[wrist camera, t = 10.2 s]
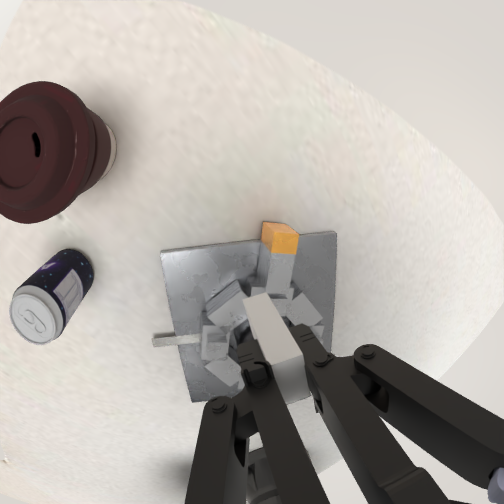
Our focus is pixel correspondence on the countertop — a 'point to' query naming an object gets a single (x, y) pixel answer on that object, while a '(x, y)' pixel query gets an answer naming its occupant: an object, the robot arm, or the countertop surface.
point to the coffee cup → (49, 151)
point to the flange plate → (238, 268)
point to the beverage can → (51, 297)
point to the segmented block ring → (267, 280)
